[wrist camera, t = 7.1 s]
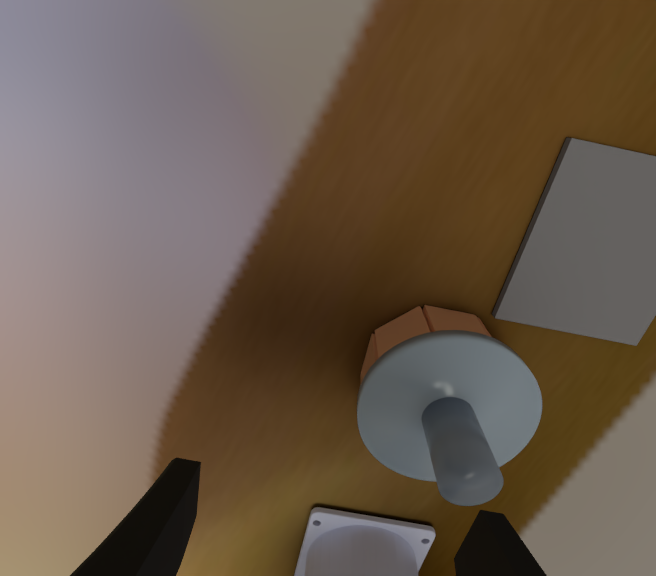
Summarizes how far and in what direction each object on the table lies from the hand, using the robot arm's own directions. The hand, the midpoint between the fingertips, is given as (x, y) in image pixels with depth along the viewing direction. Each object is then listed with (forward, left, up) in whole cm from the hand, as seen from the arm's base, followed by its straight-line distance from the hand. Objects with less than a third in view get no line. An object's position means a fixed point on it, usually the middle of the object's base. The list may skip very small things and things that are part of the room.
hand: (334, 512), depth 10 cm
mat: (+6, -11, -10) cm, 16 cm away
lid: (-1, -5, -7) cm, 9 cm away
